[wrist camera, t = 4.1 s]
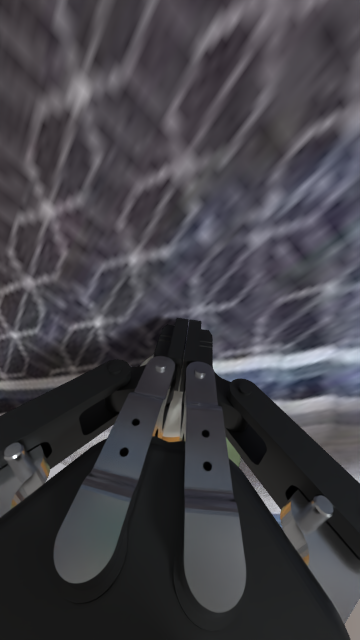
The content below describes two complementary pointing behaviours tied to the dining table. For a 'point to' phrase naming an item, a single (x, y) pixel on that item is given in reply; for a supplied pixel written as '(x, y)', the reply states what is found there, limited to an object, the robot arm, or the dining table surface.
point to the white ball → (172, 411)
